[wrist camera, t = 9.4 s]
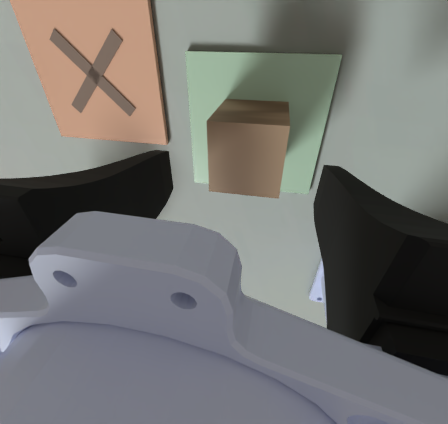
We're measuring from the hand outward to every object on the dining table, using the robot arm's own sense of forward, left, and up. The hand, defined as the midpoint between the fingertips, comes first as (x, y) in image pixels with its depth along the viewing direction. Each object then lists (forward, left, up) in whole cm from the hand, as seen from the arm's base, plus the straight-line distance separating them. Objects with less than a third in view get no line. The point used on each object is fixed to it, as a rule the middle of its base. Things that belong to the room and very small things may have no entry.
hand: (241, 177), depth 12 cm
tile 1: (+11, -3, -7) cm, 13 cm away
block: (0, 0, -7) cm, 7 cm away
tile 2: (0, 0, -7) cm, 7 cm away
